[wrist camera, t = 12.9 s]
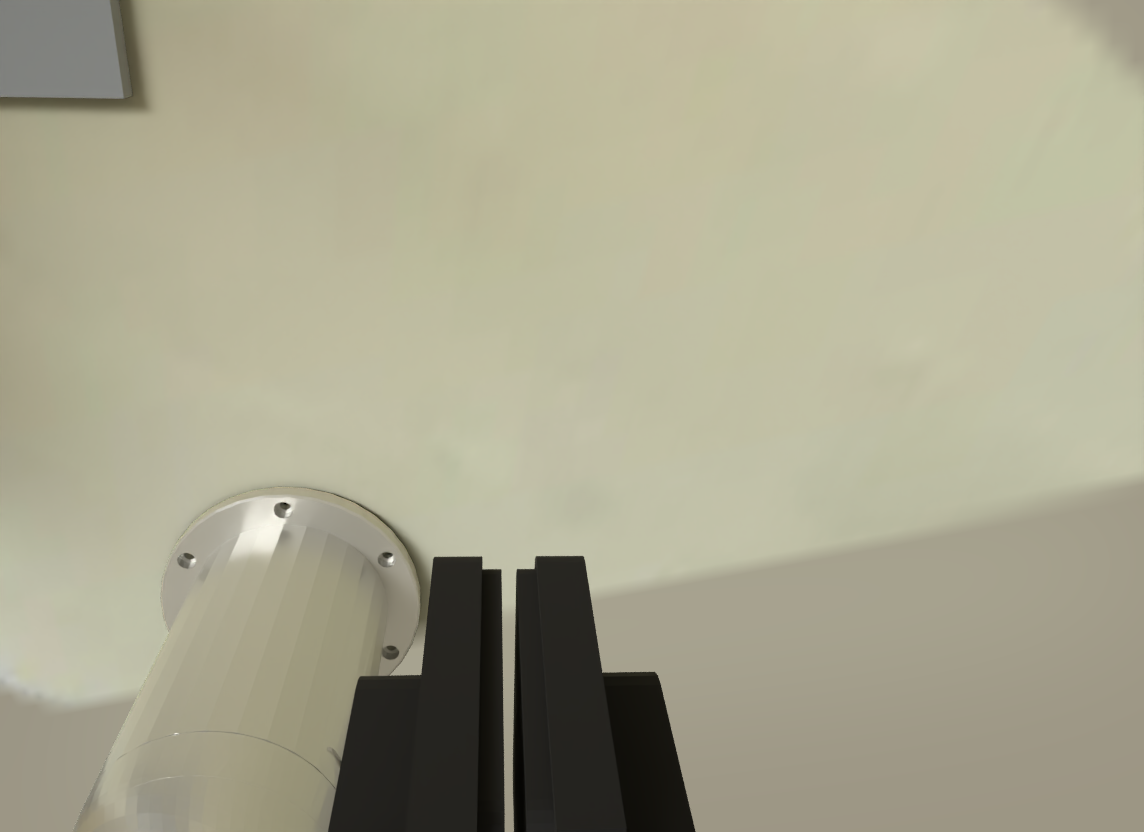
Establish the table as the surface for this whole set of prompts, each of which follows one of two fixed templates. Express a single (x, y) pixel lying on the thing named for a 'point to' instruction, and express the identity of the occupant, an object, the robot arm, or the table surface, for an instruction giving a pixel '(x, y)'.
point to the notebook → (63, 49)
